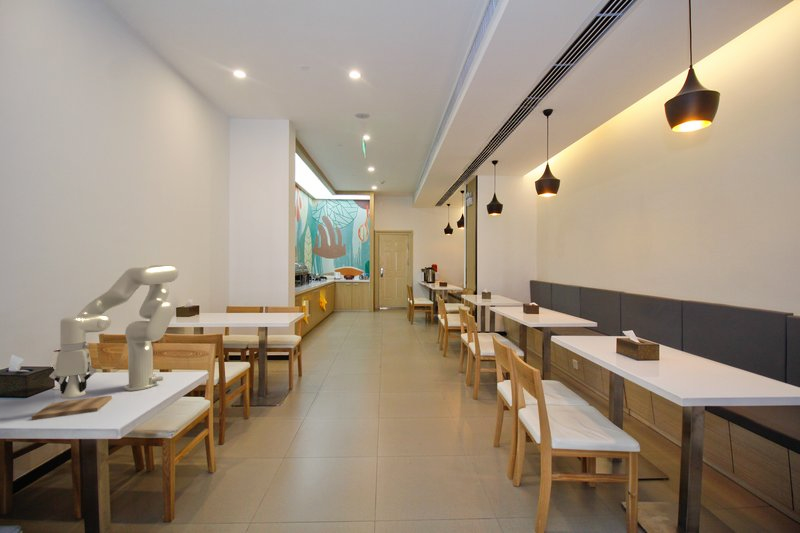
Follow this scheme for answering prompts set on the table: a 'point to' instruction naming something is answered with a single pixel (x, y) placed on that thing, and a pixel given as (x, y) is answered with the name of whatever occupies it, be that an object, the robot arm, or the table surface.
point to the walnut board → (72, 407)
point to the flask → (72, 388)
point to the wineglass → (54, 363)
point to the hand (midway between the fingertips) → (73, 391)
